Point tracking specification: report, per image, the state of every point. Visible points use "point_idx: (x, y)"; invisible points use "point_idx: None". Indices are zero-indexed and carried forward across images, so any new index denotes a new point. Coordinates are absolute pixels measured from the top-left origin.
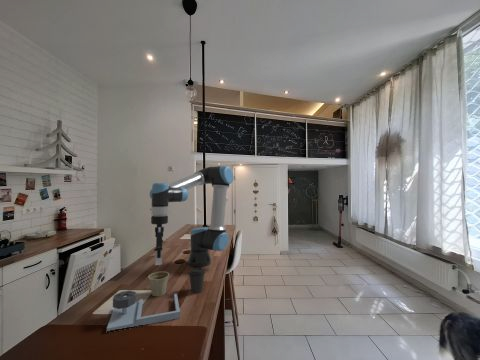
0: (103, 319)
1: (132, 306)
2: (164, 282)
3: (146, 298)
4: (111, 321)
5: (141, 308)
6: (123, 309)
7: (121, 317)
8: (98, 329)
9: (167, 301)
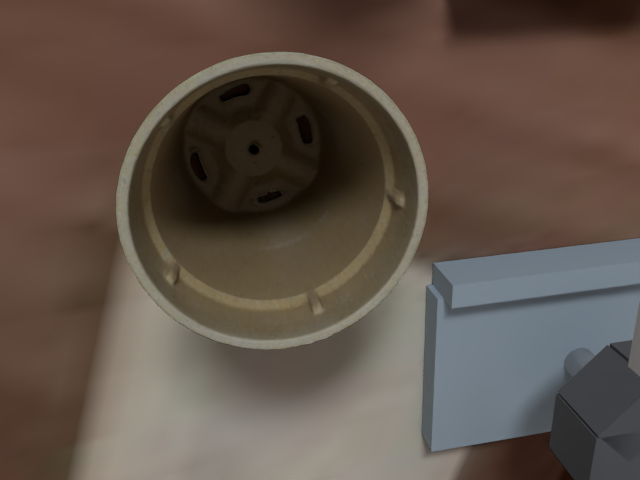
0: (525, 453)
1: (500, 333)
2: (353, 110)
3: None
4: None
5: (581, 263)
6: None
7: None
8: None
9: (452, 46)
